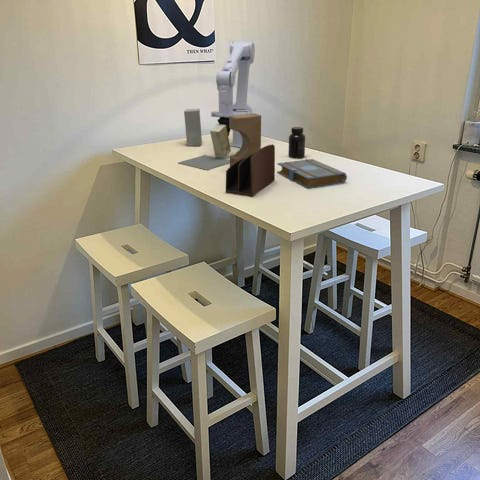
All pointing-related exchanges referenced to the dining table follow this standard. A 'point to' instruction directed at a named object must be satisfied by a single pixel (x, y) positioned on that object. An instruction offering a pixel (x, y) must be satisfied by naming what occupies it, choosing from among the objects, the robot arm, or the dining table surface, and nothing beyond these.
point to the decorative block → (246, 134)
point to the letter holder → (252, 172)
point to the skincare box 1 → (193, 127)
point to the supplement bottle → (296, 143)
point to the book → (311, 173)
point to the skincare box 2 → (220, 141)
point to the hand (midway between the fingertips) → (226, 136)
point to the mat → (205, 162)
